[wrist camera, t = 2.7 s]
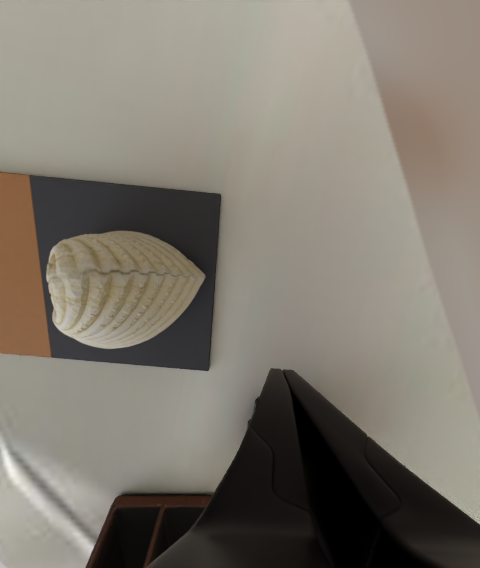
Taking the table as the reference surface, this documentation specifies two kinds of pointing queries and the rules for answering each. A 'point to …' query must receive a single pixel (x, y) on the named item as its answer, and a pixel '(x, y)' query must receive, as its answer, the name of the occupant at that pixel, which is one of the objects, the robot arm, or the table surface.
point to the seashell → (118, 287)
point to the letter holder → (144, 529)
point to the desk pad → (97, 220)
